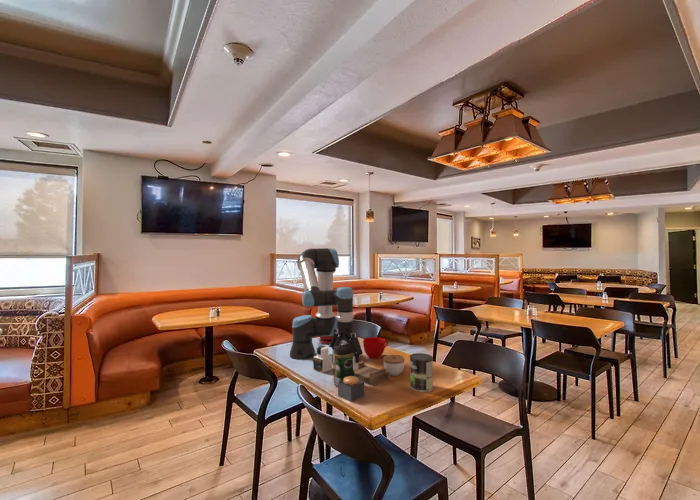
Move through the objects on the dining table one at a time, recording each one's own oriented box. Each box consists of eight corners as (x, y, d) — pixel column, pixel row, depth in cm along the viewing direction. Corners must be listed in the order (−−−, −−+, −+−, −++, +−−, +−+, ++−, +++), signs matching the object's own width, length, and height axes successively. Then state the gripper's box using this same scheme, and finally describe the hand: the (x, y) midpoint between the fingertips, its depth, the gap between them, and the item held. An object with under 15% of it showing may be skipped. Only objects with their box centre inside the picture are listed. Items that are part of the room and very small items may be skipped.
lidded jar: (392, 368, 178) (392, 350, 178) (408, 373, 170) (408, 355, 171) (379, 373, 171) (378, 355, 171) (395, 379, 163) (395, 359, 163)
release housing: (338, 396, 144) (337, 382, 144) (351, 390, 150) (351, 377, 150) (350, 401, 139) (350, 387, 139) (364, 396, 144) (364, 382, 144)
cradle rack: (345, 375, 168) (345, 365, 168) (362, 369, 176) (362, 360, 176) (372, 385, 155) (372, 375, 155) (389, 379, 163) (388, 368, 163)
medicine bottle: (313, 370, 177) (313, 347, 177) (323, 366, 182) (323, 344, 182) (322, 373, 172) (322, 349, 172) (332, 369, 177) (332, 346, 177)
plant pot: (340, 343, 229) (340, 325, 229) (323, 345, 223) (323, 327, 223) (332, 338, 240) (331, 322, 241) (315, 341, 234) (315, 324, 234)
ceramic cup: (394, 356, 198) (394, 339, 199) (372, 362, 189) (372, 344, 189) (380, 351, 209) (380, 335, 209) (358, 356, 200) (358, 339, 200)
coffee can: (415, 393, 146) (415, 360, 147) (406, 384, 157) (406, 354, 157) (437, 390, 149) (437, 359, 149) (426, 382, 159) (426, 352, 159)
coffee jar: (348, 379, 163) (347, 341, 163) (357, 384, 157) (357, 344, 157) (331, 384, 157) (330, 344, 158) (340, 389, 151) (340, 348, 151)
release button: (340, 395, 144) (340, 378, 144) (351, 391, 149) (351, 375, 149) (350, 400, 140) (350, 382, 140) (361, 395, 144) (361, 378, 144)
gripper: (322, 318, 164) (322, 362, 163) (358, 325, 146) (358, 374, 145) (333, 316, 169) (334, 358, 168) (370, 323, 151) (370, 370, 150)
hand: (345, 366), depth 157 cm, fingers open, 13 cm apart
